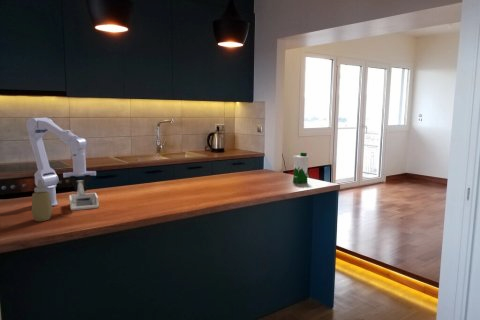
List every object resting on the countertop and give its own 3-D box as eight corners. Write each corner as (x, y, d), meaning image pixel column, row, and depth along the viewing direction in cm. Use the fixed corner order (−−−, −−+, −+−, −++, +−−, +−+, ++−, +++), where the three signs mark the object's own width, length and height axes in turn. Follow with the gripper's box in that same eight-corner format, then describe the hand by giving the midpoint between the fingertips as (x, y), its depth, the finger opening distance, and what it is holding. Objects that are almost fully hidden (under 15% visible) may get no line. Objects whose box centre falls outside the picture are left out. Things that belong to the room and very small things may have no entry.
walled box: (70, 210, 175) (70, 200, 174) (69, 204, 186) (69, 195, 185) (98, 207, 180) (98, 197, 180) (96, 201, 191) (95, 192, 191)
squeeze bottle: (56, 217, 165) (53, 177, 162) (47, 222, 157) (44, 181, 154) (38, 217, 164) (35, 177, 162) (28, 222, 156) (25, 181, 154)
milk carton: (309, 183, 245) (310, 153, 242) (298, 184, 241) (298, 154, 238) (301, 180, 252) (302, 152, 250) (290, 181, 249) (291, 152, 246)
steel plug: (76, 196, 175) (76, 181, 174) (76, 194, 178) (76, 180, 177) (85, 195, 176) (84, 181, 175) (84, 193, 180) (84, 180, 179)
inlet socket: (76, 207, 178) (76, 202, 178) (76, 203, 185) (75, 198, 184) (92, 205, 181) (91, 200, 181) (90, 202, 188) (90, 197, 187)
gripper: (62, 165, 168) (64, 194, 170) (96, 163, 175) (97, 191, 177) (62, 163, 175) (64, 190, 177) (94, 161, 181) (96, 188, 183)
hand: (80, 190), depth 177 cm, fingers closed on steel plug, 4 cm apart
